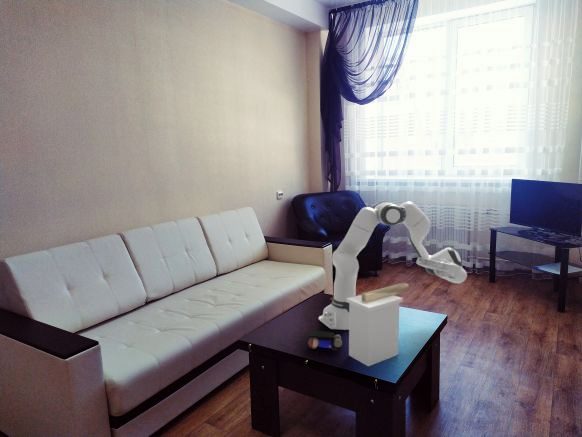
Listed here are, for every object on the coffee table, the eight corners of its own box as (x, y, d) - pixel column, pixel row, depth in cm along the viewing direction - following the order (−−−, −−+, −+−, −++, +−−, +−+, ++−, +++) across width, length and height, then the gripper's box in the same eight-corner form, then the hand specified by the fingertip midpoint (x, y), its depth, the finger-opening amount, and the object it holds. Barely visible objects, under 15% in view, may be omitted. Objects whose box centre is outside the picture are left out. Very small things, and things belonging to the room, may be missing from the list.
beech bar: (361, 300, 180) (361, 293, 179) (403, 288, 194) (403, 282, 193) (366, 302, 177) (366, 295, 177) (408, 290, 191) (408, 284, 191)
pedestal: (345, 355, 186) (346, 298, 182) (378, 343, 197) (379, 289, 193) (368, 368, 174) (369, 307, 170) (401, 354, 185) (402, 298, 181)
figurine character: (340, 347, 196) (307, 343, 197) (342, 332, 195) (309, 328, 196) (340, 354, 189) (307, 350, 190) (342, 338, 188) (309, 334, 189)
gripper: (428, 258, 215) (411, 251, 207) (463, 266, 198) (447, 258, 191) (424, 270, 214) (407, 263, 207) (459, 279, 198) (443, 272, 190)
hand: (426, 261), depth 199 cm, fingers open, 8 cm apart
